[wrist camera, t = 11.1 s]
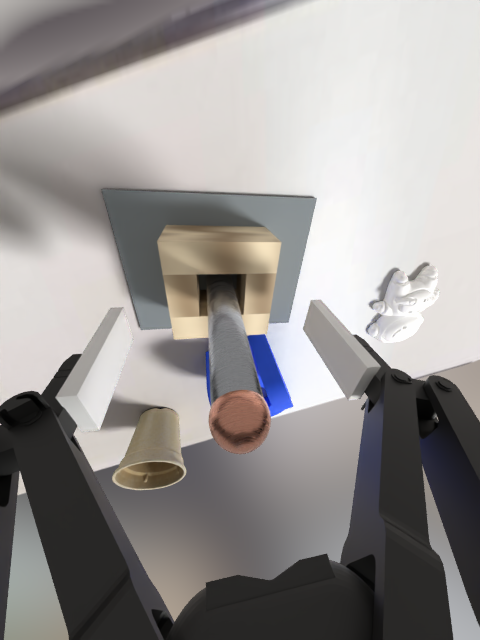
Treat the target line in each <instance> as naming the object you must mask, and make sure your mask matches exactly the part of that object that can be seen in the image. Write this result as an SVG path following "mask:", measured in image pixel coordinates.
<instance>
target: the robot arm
mask: <svg viewBox="0 0 480 640" xmlns="http://www.w3.org/2000/svg"><path fill="white" fill-rule="evenodd" d="M303 330H304V332H305V333H306V335H307V336H308V338H309V339H310V341H311V343H312V344H313V346H314V347H315V349H316V350H317V352H318V354H319V355H320V357H321V358H322V360H323V361H324V363H325V365H326V366H327V368H328V369H329V371H330V372H331V374H332V376H333V377H334V379H335V380H336V382H337V383H338V385H339V387H340V388H341V390H342V391H343V393H344V394H345V396H346V398H347V399H348V400H355V399H360V398H361V397H362V395H363V394H364V392H365V393H366V395H367V396H368V399H367V400H366V402H365V403H364V405H363V406H362V408H361V409H362V410H363V409H364V408H365V414H364V421H363V429H362V437H361V444H360V452H359V460H358V467H357V475H356V483H355V490H354V498H353V506H352V514H351V521H350V528H349V534H348V537H347V539H346V541H345V544H344V547H343V551H342V555H341V562H340V563H337V562H335V561H332V560H329V558H328V555H327V554H323V555H319V556H315V557H311V558H307V559H302V560H299V561H298V562H296V563H295V564H294V565H292V566H291V567H289V568H288V569H287V570H285V571H284V572H282V573H281V574H280V575H278V576H277V577H276V578H274V579H273V580H264V579H258V578H252V577H246V576H240V575H236V576H232V577H227V578H223V579H219V580H215V581H211V582H207V583H206V588H204V589H203V590H201V591H200V592H199V593H197V594H196V595H195V596H194V597H193V598H192V599H191V600H190V601H189V603H188V604H187V605H186V606H185V607H184V609H183V610H182V612H181V613H180V615H179V616H178V618H177V619H176V621H175V622H174V620H173V618H172V616H171V615H170V613H169V611H168V609H167V607H166V605H165V604H164V601H163V599H162V598H161V596H160V594H159V592H158V591H157V589H156V588H155V586H154V585H153V583H152V582H151V580H150V579H149V577H148V575H147V573H146V571H145V569H144V568H143V566H142V564H141V562H140V560H139V558H138V556H137V554H136V552H135V550H134V549H133V547H132V545H131V543H130V541H129V539H128V537H127V535H126V533H125V531H124V529H123V527H122V526H121V524H120V522H119V520H118V518H117V516H116V514H115V512H114V511H113V508H112V506H111V505H110V503H109V501H108V499H107V497H106V495H105V493H104V491H103V489H102V487H101V485H100V484H99V482H98V480H97V478H96V476H95V474H94V472H93V470H92V468H91V466H90V464H89V462H88V461H87V459H86V457H85V455H84V453H83V451H82V449H81V447H80V445H79V443H78V441H77V440H76V438H75V436H74V435H73V434H74V432H75V430H76V427H78V428H79V429H80V431H81V432H90V431H98V430H100V428H101V425H102V422H103V420H104V417H105V414H106V412H107V409H108V406H109V404H110V401H111V398H112V396H113V393H114V390H115V388H116V385H117V382H118V380H119V377H120V374H121V372H122V369H123V366H124V364H125V361H126V358H127V355H128V353H129V350H130V347H131V345H132V342H133V336H132V333H131V330H130V327H129V324H128V321H127V318H126V314H125V311H124V308H123V307H122V308H110V310H109V311H108V313H107V315H106V316H105V318H104V319H103V321H102V323H101V324H100V326H99V328H98V329H97V331H96V332H95V334H94V336H93V337H92V339H91V341H90V342H89V344H88V345H87V347H86V349H85V350H84V352H83V353H82V354H74V355H72V356H71V357H69V358H68V359H67V360H66V361H64V362H63V364H62V365H61V367H60V368H59V370H58V372H57V373H56V374H55V376H54V378H53V379H52V380H51V381H50V383H49V384H48V386H47V387H46V389H45V390H44V392H43V393H42V395H40V394H39V393H38V392H35V391H28V392H23V393H20V394H18V395H15V396H13V397H12V398H10V399H8V400H7V401H5V402H4V403H3V404H2V405H1V406H0V423H1V424H2V425H0V640H4V630H5V619H6V609H7V597H8V588H9V577H10V566H11V556H12V545H13V535H14V524H15V513H16V503H17V492H18V481H19V471H20V472H21V475H22V479H23V482H24V485H25V489H26V492H27V495H28V499H29V502H30V506H31V508H32V512H33V515H34V519H35V522H36V526H37V529H38V532H39V536H40V539H41V542H42V546H43V549H44V553H45V555H46V559H47V563H48V566H49V569H50V572H51V576H52V579H53V583H54V586H55V589H56V593H57V596H58V600H59V603H60V606H61V610H62V613H63V616H64V619H65V623H66V626H67V630H68V635H69V640H453V633H452V625H451V617H450V609H449V601H448V593H447V585H446V577H445V571H444V567H443V563H442V561H441V559H440V557H439V555H438V554H437V553H436V552H435V551H434V550H432V548H431V545H430V542H429V535H428V524H427V514H426V502H425V492H424V481H423V471H422V465H423V468H424V471H425V474H426V476H427V480H428V482H429V485H430V488H431V491H432V494H433V497H434V500H435V503H436V506H437V508H438V511H439V514H440V517H441V520H442V523H443V526H444V529H445V532H446V534H447V538H448V540H449V543H450V546H451V549H452V552H453V555H454V558H455V561H456V564H457V566H458V569H459V572H460V575H461V578H462V581H463V584H464V587H465V590H466V592H467V595H468V598H469V601H470V603H471V606H472V608H473V611H474V614H475V616H476V619H477V621H478V624H479V626H480V422H479V420H478V418H477V417H476V415H475V414H474V412H473V410H472V409H471V407H470V406H469V404H468V403H467V401H466V400H465V398H464V396H463V395H462V393H461V392H460V390H459V389H458V387H457V386H456V385H455V384H453V383H452V382H451V381H449V380H447V379H445V378H443V377H440V376H435V375H432V376H429V378H428V379H427V380H426V381H421V380H416V379H412V378H411V377H410V376H409V375H407V374H406V373H405V372H403V371H400V370H398V369H391V368H390V367H389V366H388V364H387V363H386V362H385V361H384V360H383V359H382V358H381V357H380V356H379V355H378V354H377V353H376V352H375V351H374V350H373V349H372V348H371V347H370V346H369V344H368V343H367V342H366V341H365V340H364V339H362V338H361V337H359V336H357V335H352V334H351V333H350V332H349V331H348V329H347V328H346V327H345V326H344V325H343V324H342V323H341V322H340V321H339V320H338V318H337V317H336V316H335V315H334V314H333V313H332V312H331V311H330V310H329V308H328V307H327V306H326V305H325V304H324V303H323V302H322V301H321V300H311V303H310V306H309V310H308V313H307V317H306V320H305V324H304V327H303ZM436 417H438V420H439V421H438V420H437V418H436Z"/></svg>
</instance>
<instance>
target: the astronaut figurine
mask: <svg viewBox="0 0 480 640" xmlns="http://www.w3.org/2000/svg"><path fill="white" fill-rule="evenodd" d="M436 276H438V271H437V268H436V267H435V266H426V267H424V268H423V269H422V270H421V272H420V273H419V274H418V276H417V277H416V278H415V280H412V281H408V277H407V275H406V273H405V272H403V271H399V270H398V271H396V272H395V273H394V274H393V276H392V279H391V280H390V282H389V285H388V287H387V291H386V294H385V298H384V300H383V301H380V302H376V303H374V304H373V306H372V308H373V309H374V310H375V311H376V312H377V313H380V314H381V315H382V316H381V317H380V318H379V319H378V320H377V322H376V323H373V324H372V325H371V326H370V327H369V329H368V333H369V335H370V336H372V337H374V338H376V339H377V340H379V341H381V342H385V343H391V342H399V341H402V340H405V339H407V338H408V337H410V336H412V335H413V334H414V333H415V332H416V331H417V330H418V328H419V326H420V325H421V324H422V323H423V321H424V318H423V316H422V315H421V313H420V312H421V311H423V310H424V309H426V308H427V307H428V306H430V305H431V304H433V303H434V302H435V299H437V298H438V296H439V293H440V290H439V289H437V288H435V287H436V284H437V281H438V278H437V277H436Z"/></svg>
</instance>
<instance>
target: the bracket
mask: <svg viewBox="0 0 480 640" xmlns="http://www.w3.org/2000/svg"><path fill="white" fill-rule="evenodd" d="M247 338H248V341H249V345H250V349H251V353H252V356H253V360H254V364H255V367H256V371H257V375H258V378H259V382H260V386H261V387H263V388H265V391H266V393H267V397H265V398H264V399H265V401H266V403H267V405H268V407H269V410H270V416H274V415H276V414H278V413H280V412H282V411H283V410H285V409H288V408H290V407H293V404H292V402H291V398H290V395H289V392H288V390H287V387H286V385H285V382H284V380H283V377H282V375H281V372H280V370H279V368H278V365H277V363H276V360H275V358H274V355H273V353H272V350H271V348H270V345H269V343H268V341H267V338H266V336H265V334H260V335H249V336H247ZM206 376H207V392H208V398H209V402H210V405H211V398H210V369H209V351H207V352H206Z"/></svg>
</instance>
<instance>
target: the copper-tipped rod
mask: <svg viewBox="0 0 480 640" xmlns="http://www.w3.org/2000/svg"><path fill="white" fill-rule="evenodd" d="M206 282H207V311H208V340H209V369H210V398H211V409H210V413H209V427H210V431H211V434H212V436H213V438H214V439H215V441H216V442H217V444H218V445H220V447H222V448H223V449H225V450H226V451H228V452H231V453H234V454H246V453H249V452H252V451H253V450H255V449H257V448H258V447H259V446H260V445H261V444H262V443H263V442H264V441H265V439H266V437H267V435H268V433H269V429H270V423H271V416H270V410H269V407H268V405H267V403H266V401H265V399H264V397H263V393H262V390H261V386H260V382H259V378H258V375H257V371H256V367H255V364H254V360H253V356H252V353H251V349H250V345H249V341H248V338H247V334H246V330H245V327H244V323H243V319H242V315H241V312H240V308H239V304H238V301H237V297H236V293H235V289H234V286H233V282H232V278H231V275H230V274H206Z"/></svg>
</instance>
